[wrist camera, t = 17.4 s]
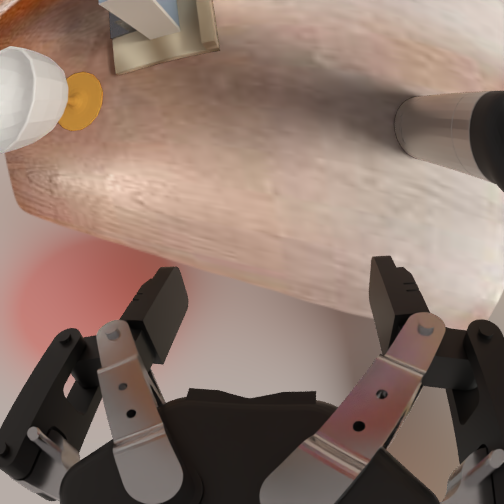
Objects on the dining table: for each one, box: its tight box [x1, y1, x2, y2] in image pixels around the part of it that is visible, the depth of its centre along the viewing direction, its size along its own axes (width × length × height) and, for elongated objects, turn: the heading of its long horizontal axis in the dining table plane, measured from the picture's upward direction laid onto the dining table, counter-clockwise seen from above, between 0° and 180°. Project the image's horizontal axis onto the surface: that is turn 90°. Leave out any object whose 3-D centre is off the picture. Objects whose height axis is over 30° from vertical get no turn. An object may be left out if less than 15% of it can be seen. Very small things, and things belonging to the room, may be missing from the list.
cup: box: [0, 46, 103, 154], centre depth 28 cm, size 12×12×17 cm
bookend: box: [109, 11, 137, 39], centre depth 27 cm, size 4×7×6 cm, turn 8°
